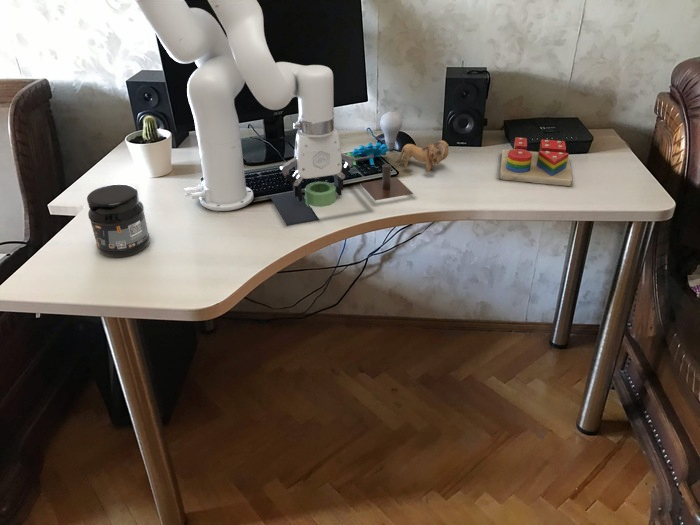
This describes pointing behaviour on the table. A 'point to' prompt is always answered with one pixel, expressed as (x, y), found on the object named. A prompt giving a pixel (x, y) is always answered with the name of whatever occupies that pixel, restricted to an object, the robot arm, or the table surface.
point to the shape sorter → (537, 163)
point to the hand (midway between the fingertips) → (318, 195)
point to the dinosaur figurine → (368, 152)
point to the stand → (386, 186)
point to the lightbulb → (390, 127)
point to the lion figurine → (425, 153)
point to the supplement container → (118, 220)
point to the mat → (293, 209)
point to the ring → (320, 194)
